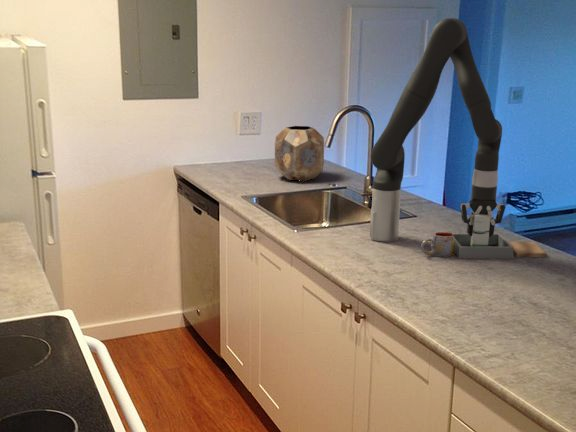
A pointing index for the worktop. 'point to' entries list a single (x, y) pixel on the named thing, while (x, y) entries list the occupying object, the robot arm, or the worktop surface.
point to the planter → (299, 153)
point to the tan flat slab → (527, 249)
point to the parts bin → (482, 252)
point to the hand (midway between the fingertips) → (480, 235)
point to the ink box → (480, 231)
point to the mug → (440, 245)
